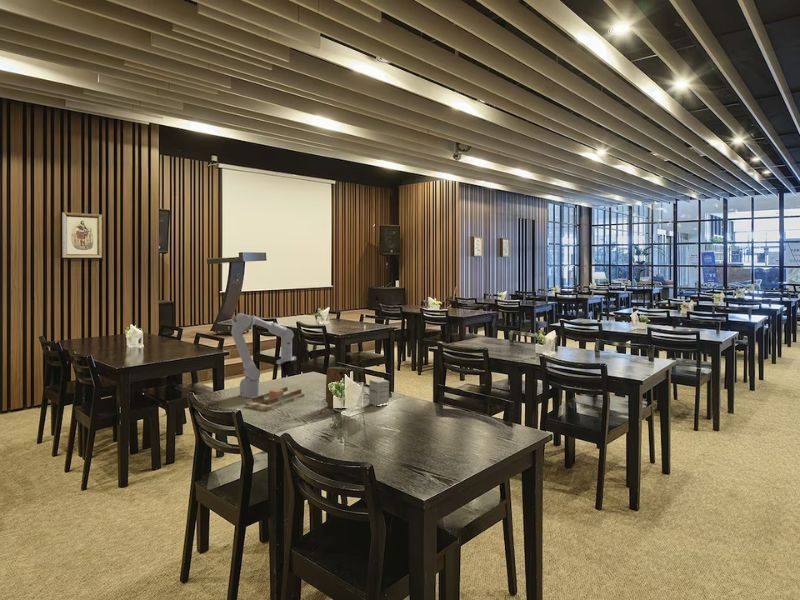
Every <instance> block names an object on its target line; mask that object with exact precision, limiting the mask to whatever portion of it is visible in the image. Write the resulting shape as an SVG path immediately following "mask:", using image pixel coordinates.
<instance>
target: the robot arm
mask: <svg viewBox="0 0 800 600" xmlns="http://www.w3.org/2000/svg"><path fill="white" fill-rule="evenodd" d="M254 325H256V326H259V327H262V328H264V329H267V330H268V332H269V333H270V334H272V335H275V336H276V337H280V338H281V342H280V343H281V344H280V345H281V346H280V347H281V348H280V349H281V352H280V353H281V355H280V358H279V359H277V360H276V365H280V367H281V368H282V372H283V375H284V376H289V375H290V372H291V371H290V370H291V368H292V366H293V365H294V362H293V361H297V356H294V355H293V339H294V336H295V333H294V331H293V330H292V329H290V328H288V327H287V326H285V325H281V324H280V323H279V322H272V323H270V322H268V321H265V320H263V319H261V318H259V317H257V316H254V315H249V314H245V313H243V312H238V313H237V314H236V315H235V316H234V318H233V320H232V326H231V327H232V328H231V331H230V332H231V336H232V339H233V342H234V344H235V347H236V349H237V351H238V354H239V357H240V359H241V362H242V368H243V375H244V376H245V377H244V378H242V379H241V380H240V383H239V395H238V397H241V396H242V397H241V398H246V397H247V399H253V398H255V397H258V396H261V395H263V394H262V393H260V376H261V371H260V370H259V369H258V368H257V365H256V364H255V363H254V361H253V358H252V357H251V356H252V355H251V352H250V350H249V347H248V345H247V343H246V340H245V337H244V332H245V330H246V329H247V328H248V327H249V326H254Z"/></svg>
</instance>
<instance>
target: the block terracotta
mask: <svg viewBox="0 0 800 600" xmlns="http://www.w3.org/2000/svg"><path fill="white" fill-rule="evenodd" d="M280 389H281V388H280ZM280 389H279V388H274V389H270V390H269V392H268V393H269V399H273V398H276V397H279V396H282V395H284V390H280Z"/></svg>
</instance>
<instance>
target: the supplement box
mask: <svg viewBox="0 0 800 600" xmlns="http://www.w3.org/2000/svg"><path fill="white" fill-rule="evenodd" d="M368 389H369V392H368V395H369V396H368V404H369V405H371V404H373V405H372V406H374V405H380V404H384V403H387V402H388V403H389V398H390V397H389V394H390V381H389V380H386V379H384V378H381V377H380V378H374V379H373V378H372V379H369V388H368Z"/></svg>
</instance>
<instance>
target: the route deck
mask: <svg viewBox="0 0 800 600" xmlns="http://www.w3.org/2000/svg"><path fill="white" fill-rule="evenodd" d="M280 390H284V395H282V396H279V397H276V398H273V399H269V392H268V393H264V394H262V395H261V396H258V397H255V398H252V400H250V401H247V402H245V404H244V406H246V407H245V408H248V407H251V408H250V409H253V408H256V409H255V410H259V409H261V410H260V411H264V410H266V411H265V412H269V410H270V411H272V409H273V410H276V409H278V408H280V406H281V407H284V406H286V405H287V404H291V403H293V401H294V402H297V401H298V399H299V400H301V399H300V398H302V399H304V398H305V393H302V389H297V390H295V391H290V390H289V389H288V387H287V386H285V387H283V388H280ZM303 397H304V398H303ZM285 404H286V405H285ZM277 407H278V408H277Z"/></svg>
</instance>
